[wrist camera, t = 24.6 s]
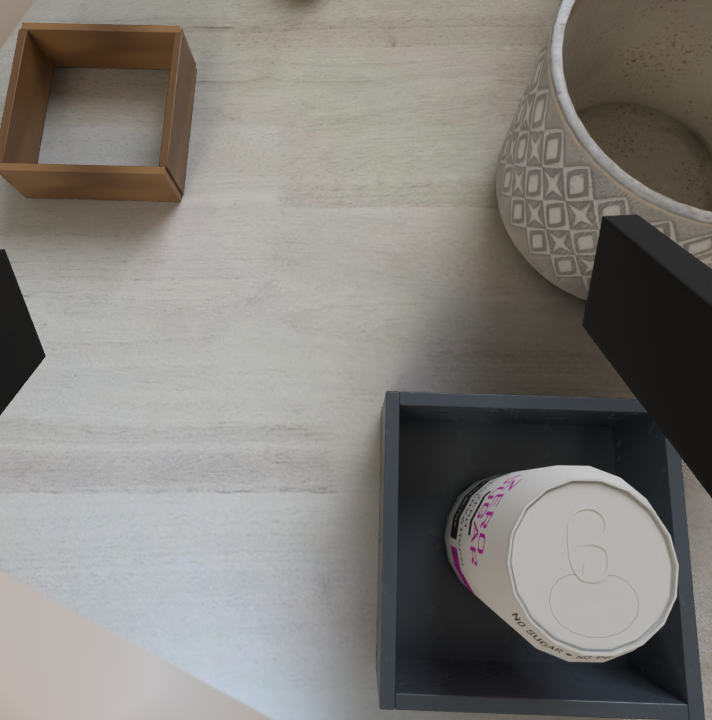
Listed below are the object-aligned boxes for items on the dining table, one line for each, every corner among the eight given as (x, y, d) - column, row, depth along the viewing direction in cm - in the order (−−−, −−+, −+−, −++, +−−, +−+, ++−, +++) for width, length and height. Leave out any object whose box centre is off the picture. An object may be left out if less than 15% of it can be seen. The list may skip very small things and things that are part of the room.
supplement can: (572, 605, 38) (705, 674, 23) (443, 603, 38) (495, 670, 23) (564, 476, 40) (683, 465, 25) (441, 474, 40) (488, 462, 25)
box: (24, 198, 45) (-8, 170, 41) (47, 60, 48) (20, 22, 44) (183, 202, 45) (166, 174, 41) (197, 63, 48) (183, 25, 44)
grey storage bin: (375, 667, 38) (379, 709, 30) (381, 409, 41) (385, 390, 34) (637, 677, 37) (705, 722, 30) (619, 416, 41) (676, 399, 34)
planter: (465, 114, 47) (510, -50, 33) (692, 73, 47) (832, -105, 33) (526, 337, 42) (607, 259, 28) (773, 289, 43) (972, 190, 29)
